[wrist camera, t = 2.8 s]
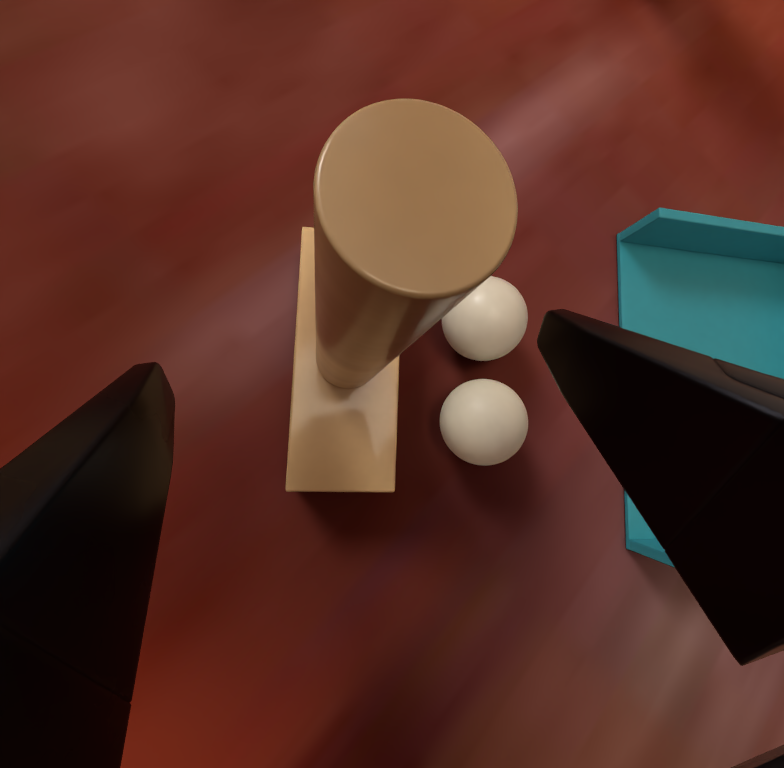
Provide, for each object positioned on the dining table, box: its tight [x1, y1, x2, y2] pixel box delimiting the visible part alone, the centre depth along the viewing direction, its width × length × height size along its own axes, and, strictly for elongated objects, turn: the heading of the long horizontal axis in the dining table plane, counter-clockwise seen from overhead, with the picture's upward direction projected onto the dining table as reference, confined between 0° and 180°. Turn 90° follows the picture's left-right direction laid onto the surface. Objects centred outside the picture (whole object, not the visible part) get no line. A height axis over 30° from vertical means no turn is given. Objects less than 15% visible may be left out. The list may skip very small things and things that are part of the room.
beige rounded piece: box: [440, 379, 528, 466], centre depth 17 cm, size 4×4×4 cm
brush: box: [286, 99, 518, 492], centre depth 11 cm, size 4×10×13 cm, turn 178°
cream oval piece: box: [442, 276, 528, 361], centre depth 17 cm, size 4×4×4 cm
